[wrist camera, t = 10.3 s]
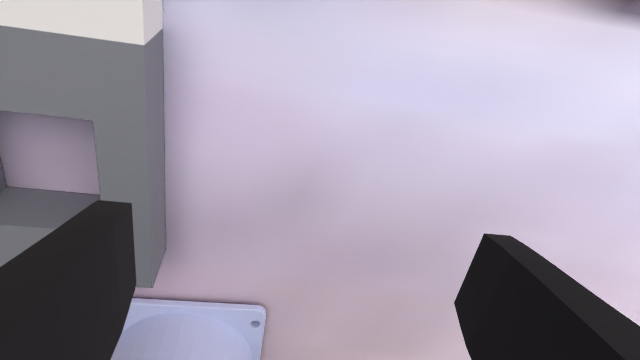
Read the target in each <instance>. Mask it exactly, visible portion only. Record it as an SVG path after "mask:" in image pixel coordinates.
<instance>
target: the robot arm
mask: <svg viewBox="0 0 640 360" xmlns="http://www.w3.org/2000/svg"><path fill="white" fill-rule="evenodd" d="M135 287H136V267H135V250H134V233H133V216H132V203H127V202H115V201H104V200H97V201H96V202H94V203H92V204H91V205H89V206H88V207H86V208H85V209H84V210H82V211H81V212H79V213H78V214H76V215H75V216H74V217H72V218H71V219H69V220H68V221H66V222H65V223H64V224H62V225H61V226H59V227H58V228H57V229H55V230H54V231H52V232H51V233H49V234H48V235H47V236H45V237H44V238H42V239H41V240H39V241H38V242H36V243H35V244H33V245H32V246H30V247H29V248H27V249H26V250H25V251H23V252H22V253H20V254H19V255H17V256H16V257H14V258H13V259H11V260H10V261H8V262H7V263H5V264H4V265H2V266H1V267H0V360H260V355H261V348H262V341H263V334H264V327H265V320H266V310H265V308H264V307H262V306H259V305H247V304H229V303H211V302H193V301H175V300H157V299H139V298H132V297H133V294H134V290H135ZM454 304H455V308H456V312H457V315H458V319H459V323H460V327H461V330H462V334H463V337H464V341H465V344H466V347H467V350H468V352H469V355H470V357H471V359H472V360H640V326H639V325H637V324H636V323H634V322H633V321H631V320H630V319H629V318H627V317H626V316H624V315H623V314H621V313H620V312H618V311H617V310H616V309H614V308H613V307H611V306H610V305H609V304H607V303H606V302H604V301H603V300H602V299H600V298H599V297H597V296H596V295H595V294H593V293H592V292H590V291H589V290H588V289H586V288H585V287H584V286H582V285H581V284H579V283H578V282H577V281H575V280H574V279H573V278H571V277H570V276H568V275H567V274H566V273H564V272H563V271H562V270H560V269H559V268H557V267H556V266H555V265H553V264H552V263H551V262H549V261H548V260H546V259H545V258H544V257H542V256H541V255H539V254H538V253H536V252H535V251H534V250H532V249H531V248H529V247H528V246H526V245H525V244H523V243H521V242H520V241H518V240H517V239H515V238H513V237H511V236H506V235H495V234H484V235H483V237H482V240H481V242H480V244H479V247H478V249H477V251H476V254H475V256H474V258H473V260H472V263H471V265H470V267H469V270H468V272H467V274H466V277H465V279H464V281H463V284H462V286H461V288H460V290H459V293H458V295H457V297H456V300H455V302H454ZM254 321H257V322H254Z"/></svg>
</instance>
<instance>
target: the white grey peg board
mask: <svg viewBox="0 0 640 360" xmlns="http://www.w3.org/2000/svg"><path fill="white" fill-rule="evenodd" d="M0 110H1V111H10V112H19V113H28V114H37V115H46V116H55V117H64V118H73V119H82V120H90V121H93V128H94V138H95V148H96V158H97V168H98V178H99V188H100V195H94V194H83V193H72V192H60V191H49V190H38V189H26V188H15V187H7V186H6V181H5V177H4V172H3V168H2V163H1V159H0V267H1V266H2V265H4V264H5V263H7V262H8V261H10V260H11V259H13V258H14V257H16V256H17V255H19V254H20V253H22V252H23V251H25V250H26V249H27V248H29V247H30V246H32V245H33V244H35V243H36V242H38V241H39V240H41V239H42V238H44V237H45V236H47V235H48V234H49V233H51V232H52V231H54V230H55V229H57V228H58V227H59V226H61V225H62V224H64V223H65V222H66V221H68V220H69V219H71V218H72V217H74V216H75V215H76V214H78V213H79V212H81V211H82V210H84V209H85V208H86V207H88V206H89V205H91V204H92V203H94V202H96V201H97V200H104V201H115V202H127V203H132V216H133V233H134V250H135V267H136V287H145V288H153V285H154V282H155V279H156V277H157V274H158V271H159V268H160V265H161V262H162V259H163V256H164V253H165V250H166V223H165V151H164V79H163V8H162V0H0Z"/></svg>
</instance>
